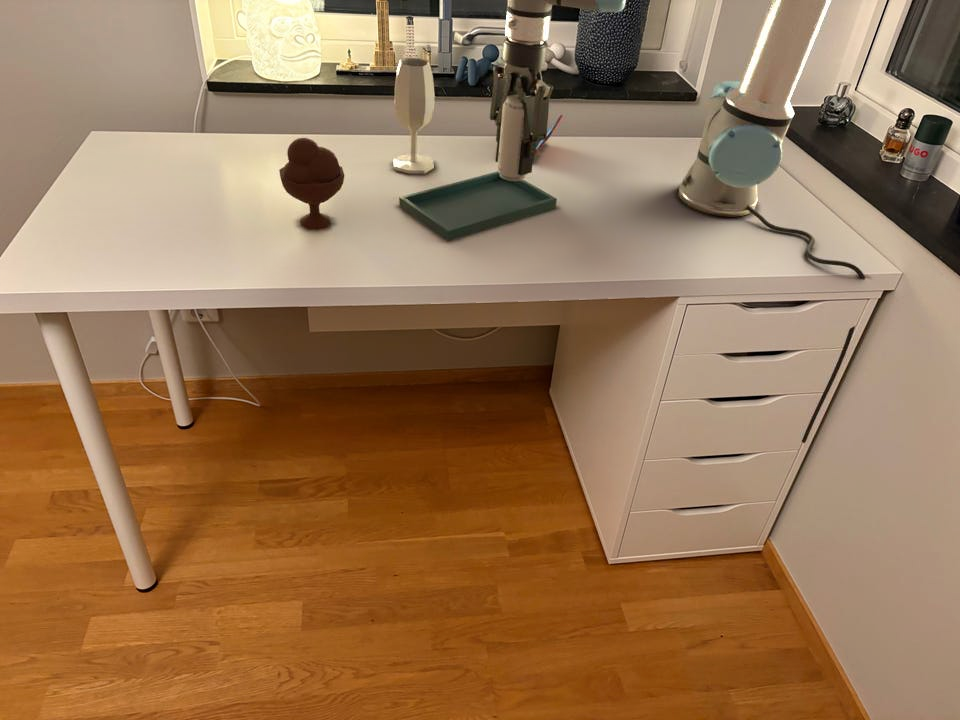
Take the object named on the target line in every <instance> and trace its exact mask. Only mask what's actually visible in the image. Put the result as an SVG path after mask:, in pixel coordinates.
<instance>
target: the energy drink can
mask: <svg viewBox="0 0 960 720" xmlns="http://www.w3.org/2000/svg"><path fill="white" fill-rule="evenodd" d="M530 96H531V95H530ZM530 96H526V97H530ZM531 134H532V133H531ZM522 139H525V131H524V109H523V104H522V103H521V102H520V101H519V95H518V94H515V95H510V96H507V99H506V101H505V102H504V104H503V109H502V121H501V132H500V143H499V155H498V162H497V166H496V167H497V168H496V172H498V173H500V177H501V178H503V179H505V180H508V181H521V180H525V178H526V177H527V176H528V175H529V173H528V174H524V175H519V174H518V170H519V161H520V151H521V142H522Z"/></svg>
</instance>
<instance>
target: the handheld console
mask: <svg viewBox="0 0 960 720" xmlns="http://www.w3.org/2000/svg"><path fill="white" fill-rule="evenodd" d="M562 118H563V114H560V115H559V117H558V118H557V119H556V121H555V122H554V123H553V125H552V126H551V127H550V128H549V129H548V130H547V138H546V139H545V140H542V141H538V142H537V147H536V155H535V158H533V162H534V161H535V160H536V157H537V156H538V154H539V152H540V150H541V149H542V148H543V147H544V145H545V144H546V142H547V141H548V140H549V139H550V138H551V136H552V135H553V133H554V132H555V130H556V129H557V127H558V125H559V124H560V122H561V120H562Z"/></svg>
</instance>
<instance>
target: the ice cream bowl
mask: <svg viewBox="0 0 960 720" xmlns="http://www.w3.org/2000/svg"><path fill="white" fill-rule="evenodd" d="M286 151H287V152H286V155H287V160H288V161H287V163H285V165H284V166H283V167H281V168H280V169H278V171H279V178H280V181H281V184H282V187H283V189H284V190H285V193H287V194H288V195H289V196H291V197H292V198H294V199H295V200H298V201H300V202H302V203H304V204H307V205H308V206H309V213H307V214H305V215H303V216H302V217H301V218H300V219H299V223H300V224H299V225H300V227H301V228H304V229H307V230H312V231H313V230H315V231H318V230H323V229H327V228H328V227H329V226H330V225H332V222H331V218H330V216H328V215H326V214H324V213H322V212H321V211H320V205H321V204H323V203H325V202H327V201H329V200H330V199H332V198H333V197H334V196H335V195H336V194H337V193H338V192H339V191H341V189H342V187H343V184H344V182H345V180H344V179H345V172H344V169H343V166H341V165H340V163H339V159H338V157H337V156H336V155H335V153H334V152H333V151H332V150H330V149H328V148H326V147H323V146H319V145H318V143H317V142H316V141H315V140H313V139H311V138H308V137H299V138H296V139H294V140H293V141H292V142H291V143H290V144H289V146H288V148H287V150H286Z"/></svg>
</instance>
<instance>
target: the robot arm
mask: <svg viewBox="0 0 960 720" xmlns="http://www.w3.org/2000/svg"><path fill="white" fill-rule="evenodd" d="M626 1H627V0H507V6H506V7H507V8H506V19H505V29H504V30H505V31H504V35H505V36H506V38H505V39H504V40H503V52H502V60H503V62H504V63H505V64H499V65H495V66H493V70H492V71H493V86H492V95H491V101H490V102H491V103H490V111H489V120H491V121H494V124H495V126H496V132H495V133H496V134H495V136H496V137H495V141H496V153H495V162H496V163H498V155H499V143H500V132H501V121H502V109H503V104H504V102H505V101H506V99H507V96H510V95H515V94H518V95H519V101H520V102H521V103H522V104H523V109H524V131H525V139H522V142H521V151H520V161H519V170H518V174H519V175H524V174H528V175H529V174H531V173H532V172H533V164H534V161H533V158H535V159H536V157H535V155H536V147H537V142H538V141H542V140H545V139H546V138H547V132H548V124H549V111H550V101H551V100H550V98H551V95H552V92H553V90H554V86H553V85H552V84H551V83H549V84H546V82H544V81H543V76H542V68H543V67H544V65H545V64H546V61H547V53H548V42H547V40H548V39H549V37H550V28H551V19H552V9H553V6H558V7H568V8H575V9H581V10H589V11H597V12H600V13H605V12H606V13H620V12H622V11H623V10H624V9H625V7H626ZM831 1H832V0H769V3H768V6H767V9H766V10H765V14H764V17H763V19H762V22H761V25H760V28H759V30H758V33H757V36H756V38H755V41H754V44H753V47H752V50H751V52H750V54H749V58H748V60H747V63H746V65H745V68H744V70H743V74H742V77H741V79H740V81H736V80H726V81H725V80H724V81H720V82H718V83H716V85H715V86H714V88H713V91H712V94H711V95H710V99H709V100H710V102H709V107H708V111H707V115H706V119H705V123H704V126H703V131H702V135H701V139H700V143H699V146H698V151H697V155H696V157H695V160H694V161H693V163H692V165H691V166H690V167H689V170H688V171H687V173H686V174H685V176H684V178H683V179H682V180H681V182H680V185H679V189H678V197H679V199H680V201H682V203H684V204H685V205H687V206H688V207H690V208H692V209H694V210H695V211H698V212H702V213H705V214H708V215H713V216H718V217H728V218H729V217H730V218H731V217H732V218H733V217H742V216H746V215H749V214H752V215H753V216H755V217H756V218H757V219H758V220H759V221H760V222H761V223H762V224H763V225H764V226H766V227H767V228H768V229H771V230H773V231H777V232H782V233H788V234H789V233H790V234H796V235H799V236H803V237H805V238H807V239H808V241H809V243H808V245H807V246H806V248H805V255H806V257H807V258H808V259H810V260H811V261H813V262H815V263H817V264H822V265H828V266H829V265H830V266H840V267H844V268H848V269H850V270H852V271H853V272H854V273H856V274H857V276H858V277H859V278H860V279H862V280H865V279H866V277H865V274H864V273H863V271H862V269H860V268H859V267H858V266H856V265H855V264H853V263H851V262H847V261H841V260H833V259H823V258H821V257H816V256H815V255H814V254H812V252H811V250H812V248H813V247H814V245H815V243H816V241H815V238H814V236H813V235H811V234H810V233H809V232H807V231H804V230H801V229H797V228H788V227H782V226H779V225H775V224H772V223H771V222H769V221H768V220H766V218H765V217H764V216H763V215H761V213H759V212H758V211H757V210H755V209H756V206H757V202H758V185H760V184H762V183H764V182H766V181H767V180H769V179H770V178H771V177H773V175H774V174H775V173H776V171H778V168H779V167H780V165H781V162H782V157H783V153H784V152H783V149H784V148H783V141H784V139H785V136H786V134H787V132H788V129H789V127H790V124H791V122H792V120H793V117H794V115H795V111H794V109H793V107H792V105H791V101H790V100H791V97H792V96H793V92H794V91H795V88H796V85H797V83H798V80H799V79H800V76H801V74H802V71H803V68H804V67H805V64H806V61H807V59H808V57H809V54H810V51H811V49H812V47H813V45H814V42H815V39H816V37H817V36H818V33H819V30H820V29H821V28H820V27H821V25H822V22H823V20H824V17H825V16H826V13H827V10H828V8H829V6H830V3H831ZM530 95H531V96H530ZM526 96H530V97H526ZM531 133H532V134H531ZM532 174H533V173H532ZM855 328H856V325H854V326H851V327H850V328H849V330H848V332H847V335H846V338H845V341H844V344H843V347H842V350H841V352H840V355H839V357H838V359H837V362H836V364H835V366H834V369H833V371H832V373H831V376H830V378H829V380H828V382H827V384H826V386H825V388H824V390H823V393H822V395H821V396H820V399H819V401H818V402H817V405H816V407H815V409H814V412H813V413H812V415H811V418H810V420H809V423H808V424H807V427H806V429H805V432H804V434H803V437H802V439H801V443H803V444H805V443H807V439H808V437H809V435H810V432H811V430H812V428H813V426H814V423H815V421H816V419H817V417H818V416H819V413H820V411H821V408H822V407H823V404H824V402H825V401H826V398H827V396H828V394H829V392H830V390H831V388H832V385H834V384H833V383H834V382H835V379H836V377H837V375H838V373H839V370H840V368H841V366H842V364H843V361H844V359H845V357H846V354H847V351H848V349H849V346H850V344H851V340H852V337H853V334H854V332H855Z"/></svg>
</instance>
